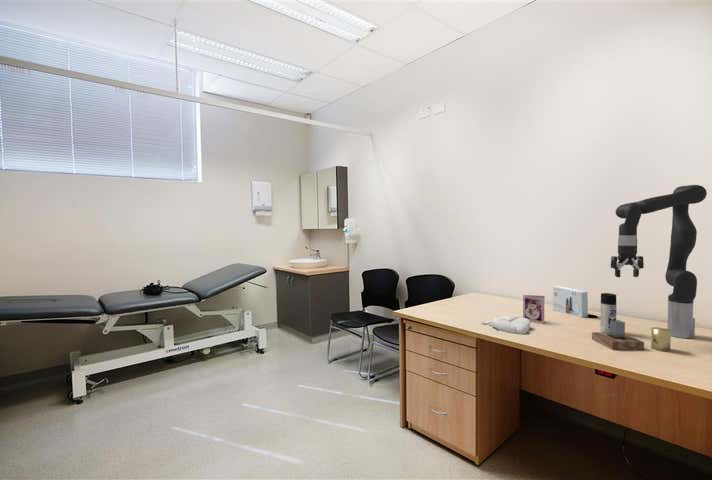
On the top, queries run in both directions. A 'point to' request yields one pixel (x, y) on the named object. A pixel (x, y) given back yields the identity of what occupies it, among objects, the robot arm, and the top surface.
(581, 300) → the skincare box
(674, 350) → the top surface
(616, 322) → the square bit
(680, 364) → the top surface
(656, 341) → the cylinder
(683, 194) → the robot arm
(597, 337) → the bore block
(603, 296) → the spray can
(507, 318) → the lung model
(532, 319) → the greeting card
